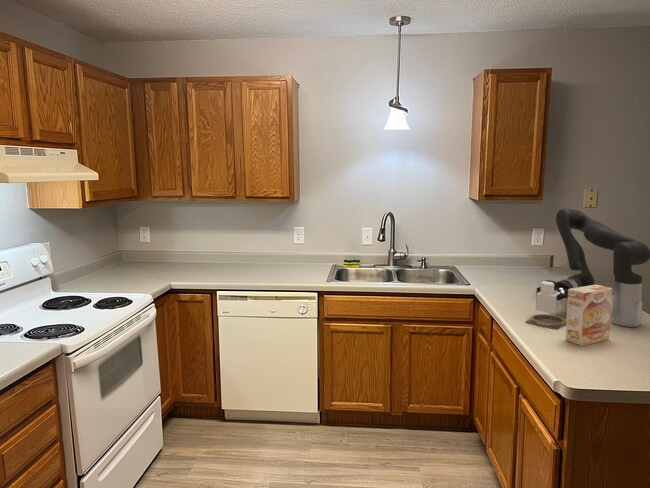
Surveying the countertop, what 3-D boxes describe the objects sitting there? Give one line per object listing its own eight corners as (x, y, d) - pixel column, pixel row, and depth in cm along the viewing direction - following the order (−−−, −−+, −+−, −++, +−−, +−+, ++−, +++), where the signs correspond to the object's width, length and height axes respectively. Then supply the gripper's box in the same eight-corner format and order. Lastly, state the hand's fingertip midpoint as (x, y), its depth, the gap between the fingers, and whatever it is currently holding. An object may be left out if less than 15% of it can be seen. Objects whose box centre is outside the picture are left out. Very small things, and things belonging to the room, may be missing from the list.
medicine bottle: (542, 306, 197) (543, 278, 195) (560, 309, 192) (561, 280, 190) (535, 310, 192) (536, 281, 191) (553, 313, 187) (555, 284, 185)
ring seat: (570, 322, 192) (570, 318, 192) (556, 329, 184) (556, 325, 184) (539, 316, 202) (539, 312, 201) (525, 322, 194) (525, 318, 193)
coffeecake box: (581, 346, 166) (584, 292, 163) (564, 340, 172) (566, 288, 170) (610, 339, 172) (613, 287, 169) (592, 333, 178) (595, 283, 175)
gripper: (548, 277, 206) (530, 284, 196) (583, 282, 195) (566, 290, 185) (547, 293, 207) (529, 301, 197) (582, 300, 196) (565, 308, 186)
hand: (547, 296), depth 191 cm, fingers closed on medicine bottle, 7 cm apart
